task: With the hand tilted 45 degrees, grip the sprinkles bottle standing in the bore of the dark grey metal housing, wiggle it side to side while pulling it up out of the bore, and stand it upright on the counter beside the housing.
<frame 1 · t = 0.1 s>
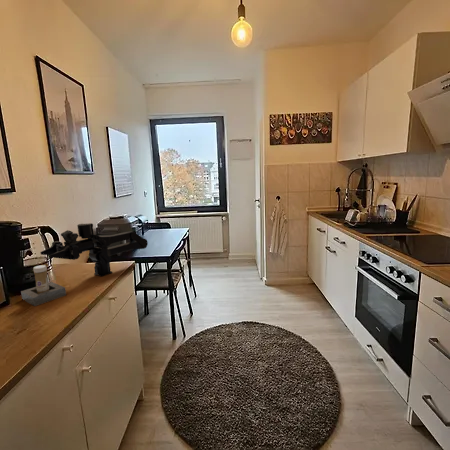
hand: (45, 254, 123), 17 cm above the counter, tool horizontal, fingers open, 9 cm apart
sprinkles bottle: (44, 297, 119), resting in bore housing
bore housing: (44, 297, 119), on the counter
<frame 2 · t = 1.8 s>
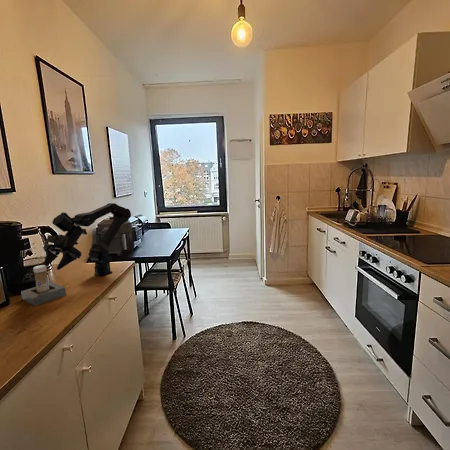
hand: (50, 268, 121), 11 cm above the counter, tool tilted 45°, fingers open, 9 cm apart
nothing on the counter moved.
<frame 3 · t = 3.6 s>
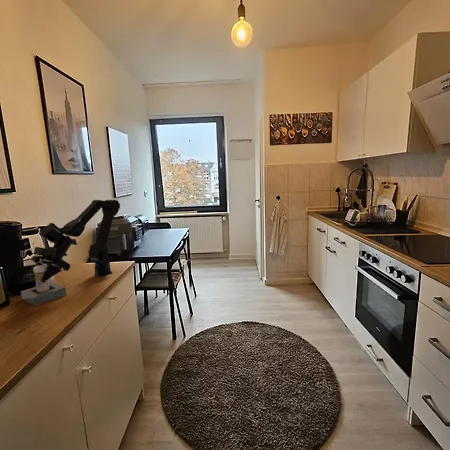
hand: (38, 281, 116), 8 cm above the counter, tool tilted 45°, fingers closed on sprinkles bottle, 4 cm apart
sprinkles bottle: (44, 297, 119), resting in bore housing, touching gripper
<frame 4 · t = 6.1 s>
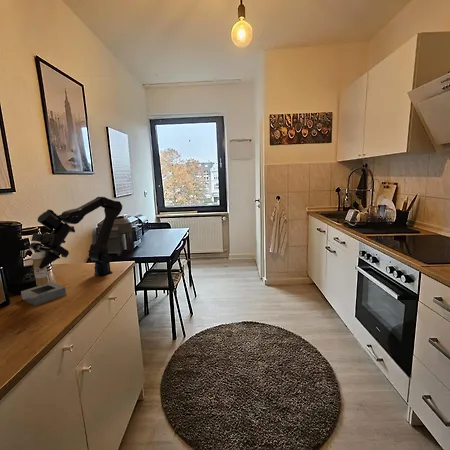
hand: (36, 267, 116), 13 cm above the counter, tool tilted 45°, fingers closed on sprinkles bottle, 4 cm apart
sprinkles bottle: (42, 284, 118), point 5 cm above the counter, touching gripper
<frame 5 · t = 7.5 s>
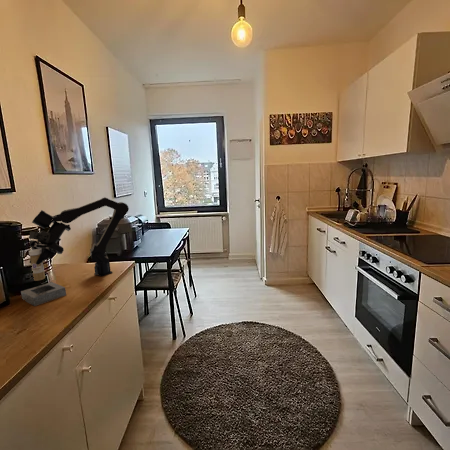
hand: (33, 263, 124), 12 cm above the counter, tool tilted 45°, fingers closed on sprinkles bottle, 4 cm apart
sprinkles bottle: (39, 279, 127), point 5 cm above the counter, touching gripper
when the fingers open (9 cm above the counter, at t = 8.5 s): sprinkles bottle drops 1 cm, on the counter.
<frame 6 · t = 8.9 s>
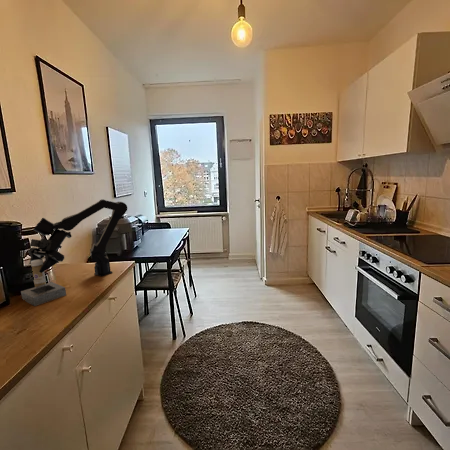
hand: (34, 271, 125), 9 cm above the counter, tool tilted 45°, fingers open, 8 cm apart
sprinkles bottle: (41, 289, 128), on the counter
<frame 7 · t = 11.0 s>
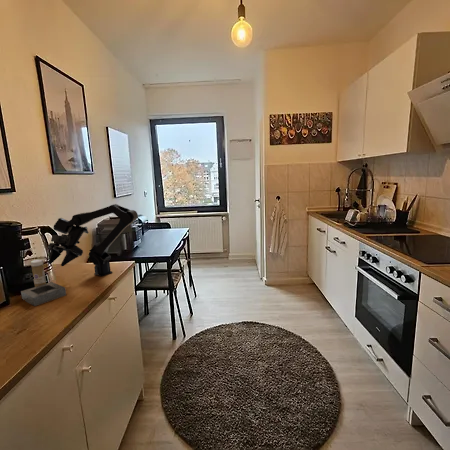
hand: (55, 264, 133), 9 cm above the counter, tool tilted 45°, fingers open, 9 cm apart
nothing on the counter moved.
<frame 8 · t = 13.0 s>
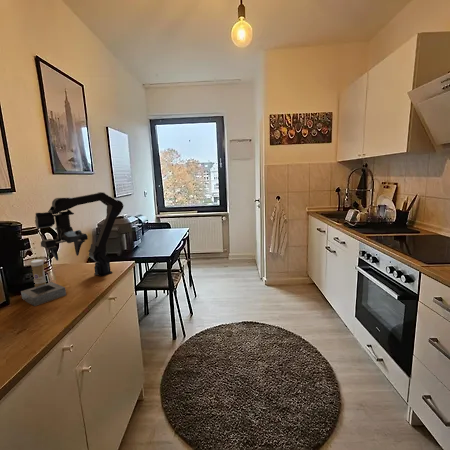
hand: (67, 257, 133), 12 cm above the counter, tool pointing down, fingers open, 9 cm apart
nothing on the counter moved.
at the end: sprinkles bottle inside the target area (0.4 cm from its centre), on the counter; sprinkles bottle tilted 0°; the gripper is holding nothing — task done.
